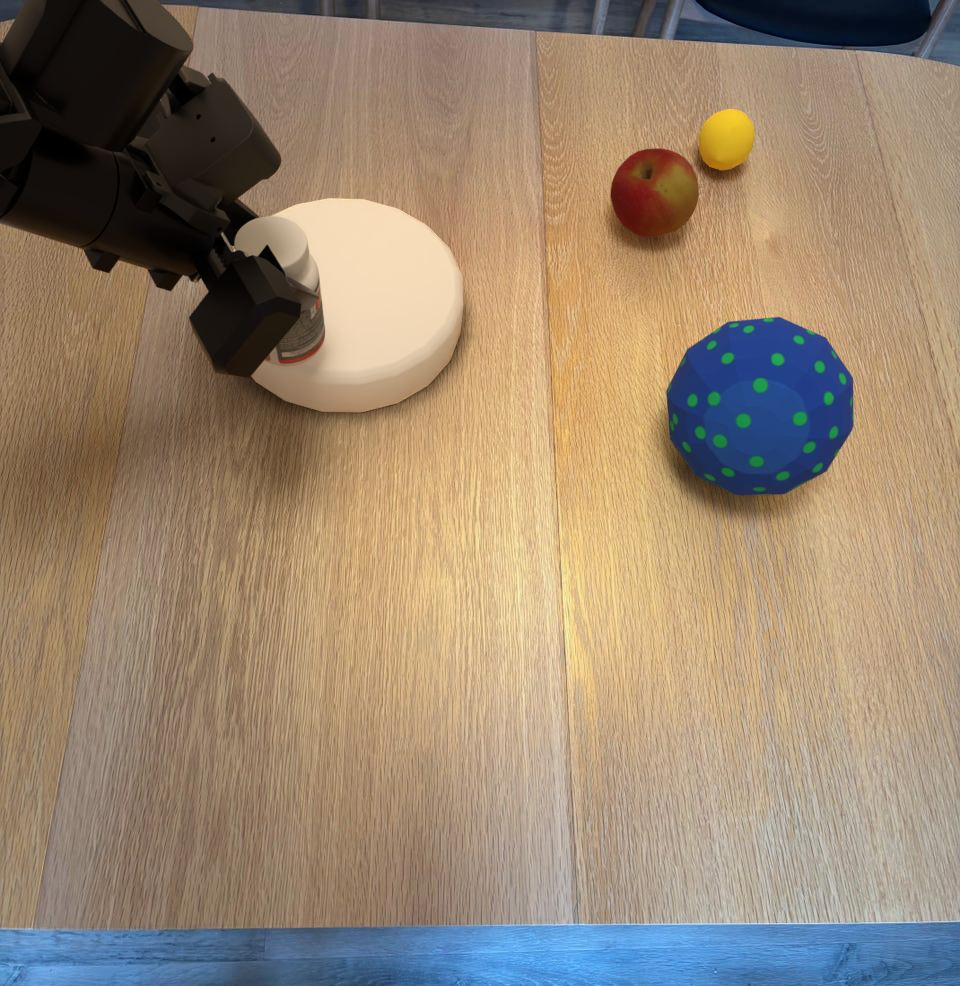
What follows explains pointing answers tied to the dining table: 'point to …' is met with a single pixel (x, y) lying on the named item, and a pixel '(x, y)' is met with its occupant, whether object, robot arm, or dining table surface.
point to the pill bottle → (300, 267)
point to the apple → (654, 192)
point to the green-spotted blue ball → (760, 406)
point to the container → (372, 308)
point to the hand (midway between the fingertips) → (295, 271)
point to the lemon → (726, 139)
